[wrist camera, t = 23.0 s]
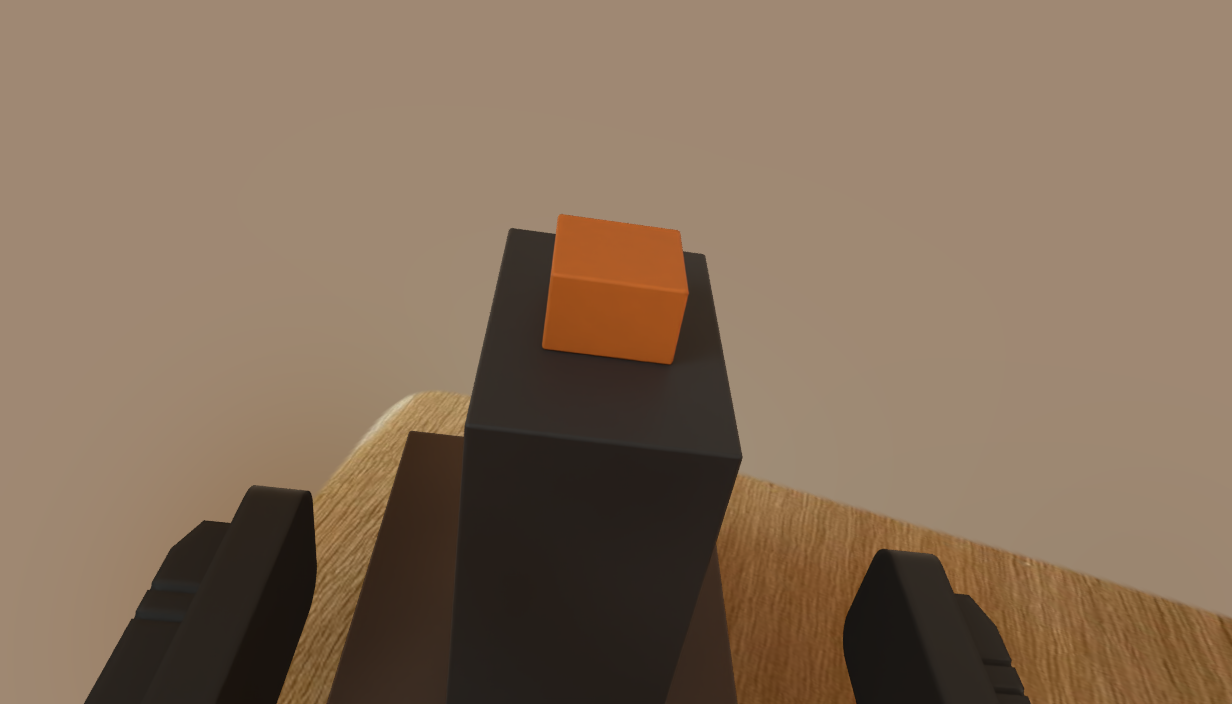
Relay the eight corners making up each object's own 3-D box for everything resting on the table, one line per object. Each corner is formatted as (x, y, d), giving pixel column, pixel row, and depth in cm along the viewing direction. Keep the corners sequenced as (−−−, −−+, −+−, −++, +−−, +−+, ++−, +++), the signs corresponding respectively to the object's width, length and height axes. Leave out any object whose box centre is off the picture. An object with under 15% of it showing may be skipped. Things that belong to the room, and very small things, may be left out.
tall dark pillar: (437, 817, 20) (469, 340, 13) (476, 582, 26) (515, 159, 18) (626, 830, 21) (769, 378, 13) (623, 597, 26) (721, 188, 19)
